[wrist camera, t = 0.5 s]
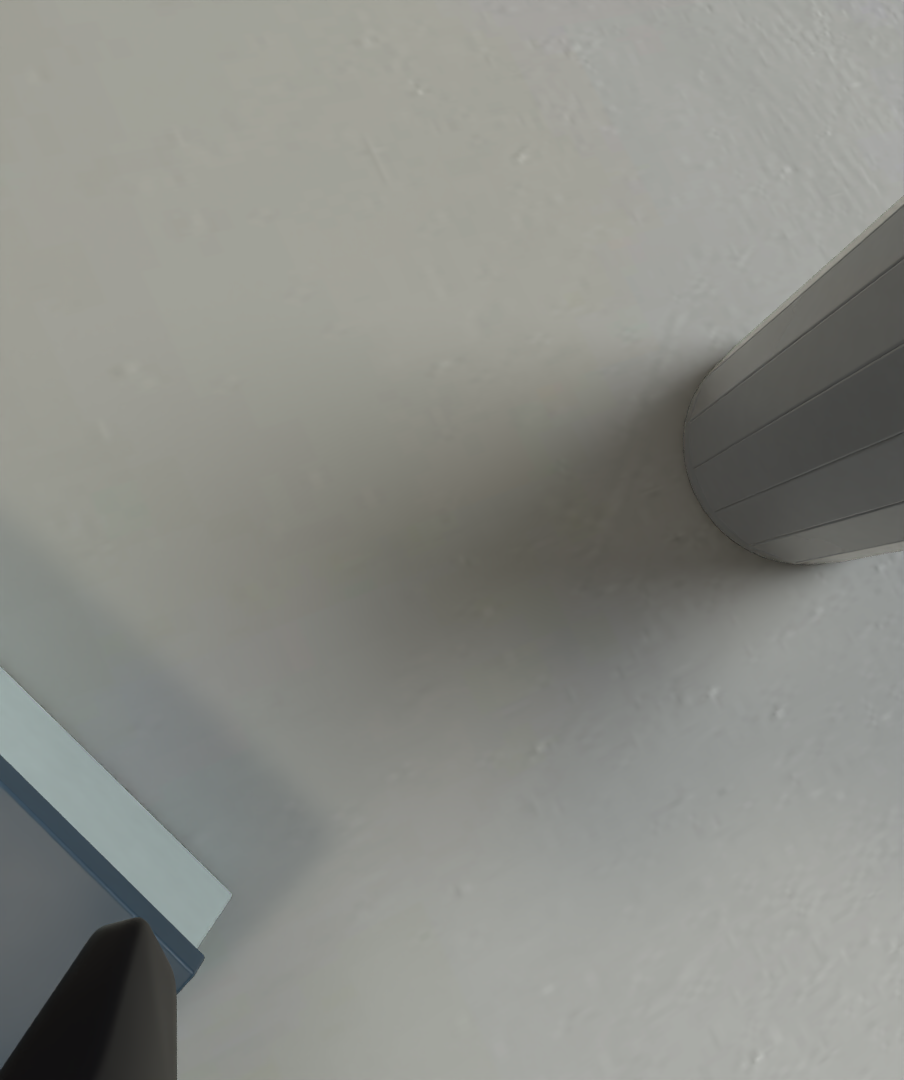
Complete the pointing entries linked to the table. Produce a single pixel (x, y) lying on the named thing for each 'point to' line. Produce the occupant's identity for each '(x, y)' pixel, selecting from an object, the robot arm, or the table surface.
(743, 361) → the cup
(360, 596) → the table surface
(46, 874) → the container
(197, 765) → the table surface
